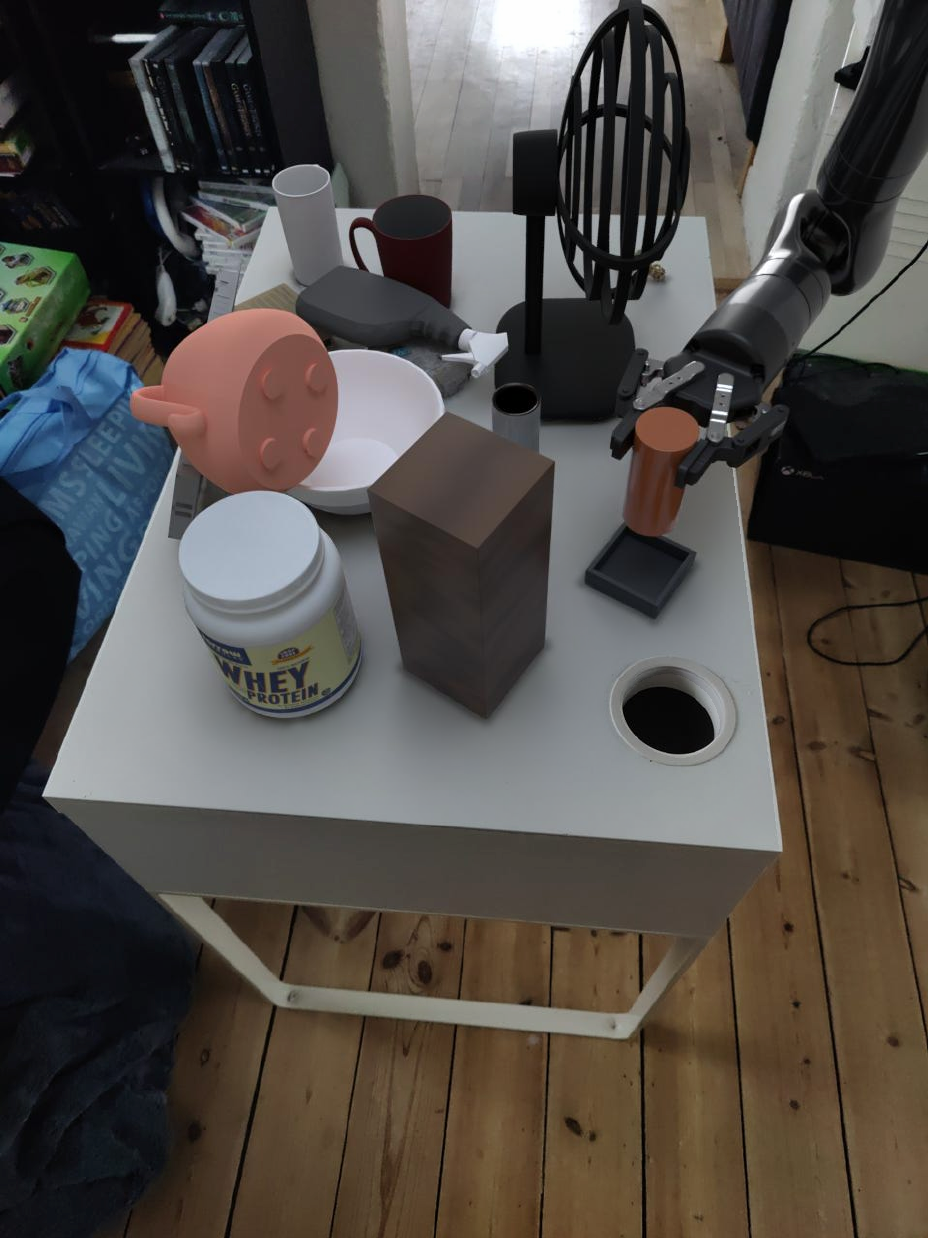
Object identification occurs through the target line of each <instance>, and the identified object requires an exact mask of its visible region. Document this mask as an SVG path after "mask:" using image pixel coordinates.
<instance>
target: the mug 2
mask: <svg viewBox="0 0 928 1238" xmlns="http://www.w3.org/2000/svg"><path fill="white" fill-rule="evenodd" d="M359 228H362V229H366V230H368V231H369V232H371V234H372V236H373V237H374V240H375V245H376V249H377V254H378V258H379V262H380V267H381V271H382V276H384V277H387V278H390V279H392V280H395V281H398V282H400V283H403V284H406V285H408V286H410V287H412V288H414V289H416V290H419V291H421V292H423V293H425V294H427V295H429V296H431V297H432V298H434V299H435V300H436V301H437V302H438V303H440V304H441V305H443V306H444V307H445V308H447V309H448V310H449V308H450V306H451V304H452V286H453V285H452V284H453V243H454V242H453V239H454V238H453V236H454V235H453V212H452V209H451V207H450V206H449V205H448V203H446V202H445V201H444V200H443V199H440V198H438V197H435V196H432V195H428V194H406V195H401V196H397V197H394V198H391V199H388V200H386V201H385V202H383V203H381V204H380V205H379V206H378V207H377V208H376V209H375V211H374V213H373V214H372V220H371V219H370V218H369V217H365V216H358V217H356V218H354V219H353V220H352V222H351V223H350V226H349V229H348V242H349V246H350V250H351V253H352V254H351V255H352V257H353V258H354V261H355V262H354V263H355V264H356V267H357V269H360V270H364V271H367V272H370V273H371V271H370V270H369V269H368V267H367V266H366V263H365V262H364V260H363V258H362V256H361V254H360V251H359V247H358V244H357V241H356V236H355V230H356V229H359Z"/></svg>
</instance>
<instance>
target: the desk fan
mask: <svg viewBox="0 0 928 1238" xmlns="http://www.w3.org/2000/svg"><path fill="white" fill-rule="evenodd" d="M645 22H647V23H649V24H646V23H645ZM627 30H628V31H629V33H628V34H629V52H630V53H629V54H630V56H629V57H630V79H629V89H628V95H627V103H626V104H625V103H618V92H619V83H620V75H621V66H622V59H623V52H624V46H625V39H626V34H627ZM663 40H664V41H665V43H666V46H667V48H668V50H669V53H670V55H671V58H672V61H673V65H674V68H675V69H674V70H675V72H673V71H672V72H666V71H665V70H666V69H665V68H666V67H665V53H664V52H665V51H664V43H663ZM648 47H649V48H648ZM648 49H649V52H650V62H651V63H650V64H651V92H652V93H651V99H652V100H651V117H650V116H649V115H647V114H646V104H647V103H646V101H647V100H646V99H647V51H648ZM591 56H592V58H591ZM590 58H591V67H590V77H589V86H588V87H589V89H588V100H587V109H586V110H584V111H583V94H582V93H583V90H582V75H583V73H584V70H585V67H586V66H587V64H588V62H589V60H590ZM602 68H603V69H602ZM602 71H603V73H602ZM602 74H603V103H600V104H599V96H600V95H599V94H600V87H601V86H600V84H601V77H602V76H601V75H602ZM569 85H570V86H569V89H568V92H567V96H566V99H565V104H564V107H563V112H562V116H561V122H560V128H559V132H558V128H550V129H549V128H548V129H531V130H524V131H518V132H514V133H513V134H512V214H513V215H516V216H523V217H525V258H524V259H525V261H524V262H525V265H524V266H525V268H524V269H525V272H524V274H525V275H524V301H521V302H519V303H517V304H515V305H513V306H512V307H510V308H509V309H508V310H507V311H506V312H505V313H504V314H503V315H502V316H501V318H500V319H499V320H498V323H497V325H496V329H495V334H500V333H507V340H508V351H507V352H506V353H505V354H504V355H503V356H502V357H501V358H500V359H499V360H498V361H497V362H496V363H495V364H494V365H493V367H494V368H493V369H494V370H493V371H494V372H493V379H494V382H493V383H494V388H495V391H496V390H497V389H499V388H500V387H502V386H504V385H507V384H511V383H523V384H527V385H529V386H531V387H533V388H534V389H536V390H537V391H538V393H539V395H540V398H541V408H540V421H597V420H604V419H608V418H610V417H612V416H616V415H615V407H616V399H617V392H618V388H619V385H620V383H621V381H622V378H623V376H624V374H625V371H626V369H627V367H628V364H629V362H630V360H631V357H632V355H633V353H634V351H635V350H636V349H637V348H636V340H635V338H636V337H635V332H634V331H635V330H634V327H633V324H632V322H631V320H630V318H629V317H628V316H627V315H626V308H627V304H628V301H639V300H640V299H641V298H642V297H643V294H644V291H645V288H646V285H647V281H648V277H649V275H648V273H649V268H650V264H652V265H653V264H654V263H655V262H660V261H661V260H663V258H664V255H665V253H666V252H667V250H668V249H669V247H670V246H671V244H672V241H673V240H674V238H675V236H676V233H677V231H678V227H679V223H680V218H681V212H682V210H683V208H684V205H685V202H686V197H687V192H688V185H689V180H690V171H691V169H690V168H691V147H692V146H691V145H692V144H691V133H690V130H689V128H688V126H687V125H686V123H687V118H686V117H687V112H686V111H687V110H686V109H687V108H686V93H685V85H684V77H683V71H682V66H681V61H680V57H679V53H678V49H677V47H676V43H675V40H674V38H673V35H672V33H671V31H670V28H669V26H668V25H667V23H666V21H665V20H664V18H663V17H662V16H661V14H660V13H659V12H657V10H655V9H654V8H653V7H651V5H648V4H645V3H643V1H642V0H619V1H618V4H617V8H616V9H615V10H613V11H612V12H611V13H609V14H608V16H606V18H604V19H603V21H602V22H601V23H600V24H599V25H598V27H597V28H596V30H595V31H594V33H593V34H592V35H591V37H590V39H589V40H588V42H587V44H586V46H585V48H584V50H583V51H582V54H581V57H579V61H578V63H577V66H576V67H575V70H574V74H573V75H571V79H570V84H569ZM668 86H669V89H670V96H671V98H670V99H671V141H670V139H669V138H668V136H667V135H666V134H665V117H666V116H665V115H666V113H665V112H666V93H667V92H666V91H667V89H668ZM616 117H617V118H623V119H625V122H624V123H625V125H624V136H623V149H622V150H623V151H622V161H621V162H622V163H621V180H620V181H621V182H620V202H619V203H620V205H619V206H620V207H619V255H617V254H612V253H610V251H611V250H610V248H611V247H610V246H611V245H610V243H611V242H610V239H611V237H610V234H611V232H610V231H611V230H610V228H611V227H610V226H611V214H612V200H613V184H614V169H615V168H614V166H615V148H616V147H615V144H616ZM600 118H603V119H602V121H603V123H602V139H601V140H602V141H601V160H600V175H599V176H600V179H599V180H600V181H599V203H598V204H599V205H598V206H599V207H598V223H597V224H598V225H597V226H598V227H597V237H596V245H595V244H593V198H594V197H593V195H594V194H593V193H594V171H595V170H594V169H595V166H594V165H595V150H596V133H597V120H598V119H600ZM584 126H586V131H585V147H584V148H585V150H584V169H583V170H584V171H583V174H584V175H583V199H582V200H583V201H582V202H583V203H582V204H583V206H582V207H583V208H582V233H581V231H580V230H579V218H580V203H581V202H580V200H581V182H582V181H581V179H582V178H581V177H582V154H583V153H582V151H583V149H582V148H583V147H582V145H583V141H582V140H583V127H584ZM645 130H646V131H647V132H648V133H649V134H650V135H649V137H650V138H649V144H648V145H649V147H648V155H647V157H648V158H647V168H646V169H647V171H646V183H645V184H646V185H645V186H646V187H645V217H644V226H643V233H642V242H641V246H642V247H641V248H640V249H641V254H639V255H635V253H636V248H637V247H636V246H637V237H638V229H639V218H640V207H641V197H642V196H641V194H642V183H643V182H642V181H643V170H644V169H643V168H644V154H645V153H644V152H645V150H644V149H645ZM664 153H665V155H666V157H667V160H668V161H669V163H670V165H669V167H670V169H669V180H668V189H667V190H668V191H667V199H666V208H665V213H664V217H663V221H662V224H661V226H660V229H659V231H658V233H657V236H656V229H657V223H658V214H659V205H660V195H661V185H662V173H663V172H662V171H663V158H664ZM564 155H565V173H564V174H565V175H564V197H563V193H562V187H561V186H562V185H561V178H560V177H561V167H562V162H563V158H564ZM572 173H573V175H572ZM546 217H556V221H557V222H556V223H557V228H558V229H557V230H558V235H559V240H560V245H561V249H562V253H563V256H564V259H565V263H566V265H567V267H568V271H569V272H570V274H571V276H572V278H573V280H574V281H575V283H576V284H577V285H578V287H579V288H580V289H581V291H583V292H584V296H585V297H550V298H549V297H547V298H546V297H544V273H545V272H544V271H545V242H546V241H545V239H546ZM563 225H564V227H563ZM577 247H578V248H579V250H580V251H581V252H582V263H583V264H582V268H583V269H582V271H583V276H582V274H581V273H580V272H579V270H578V268H577V267H576V265H575V263H574V262H575V259H576V253H577ZM593 262H594V264H593ZM593 265H594V267H593ZM611 270H612V271H615V272H617V278H616V285H615V287H612V285H611ZM635 270H636V271H635ZM632 271H634V274H632V273H633V272H632Z"/></svg>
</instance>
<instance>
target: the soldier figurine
mask: <svg viewBox="0 0 928 1238" xmlns="http://www.w3.org/2000/svg"><path fill="white" fill-rule="evenodd" d="M641 247H642V245H641ZM639 254H641V248H639V249H636V250H635V255H639ZM661 265H662V264H661V263H655V264H654V263H652V264H650V268H649V273H648V277H651V278H652V279H653V280H654V281H658V280H660V279H661V280H662V281H665V280H666V275H665V274H666V273H667V272H666V269H664V267H662V266H661ZM636 271H637V270H635V271H632V275H633V274H634V273H635V272H636Z"/></svg>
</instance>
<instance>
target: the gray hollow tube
mask: <svg viewBox="0 0 928 1238" xmlns="http://www.w3.org/2000/svg"><path fill="white" fill-rule="evenodd" d="M494 391H495V392H493V394H492V396H491V427H492V430H491V431H492V432H494V433H496V434H498V435H500V436H503V437H505V438H507V439H509V440H511V441H513V442H515V443H518V444H520V445H522V446H524V447H526V448H528V449H530V450H533V451H535V452H537V453H539V454H540V433H541V420H540V408H541V398H540V395H539V393H538V391H537V390H536V389H534V388H533V387H531V386H529V385H527V384H523V383H511V384H507V385H504V386H502V387H500V388H499V389H497V390H496V389H495V390H494Z"/></svg>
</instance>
